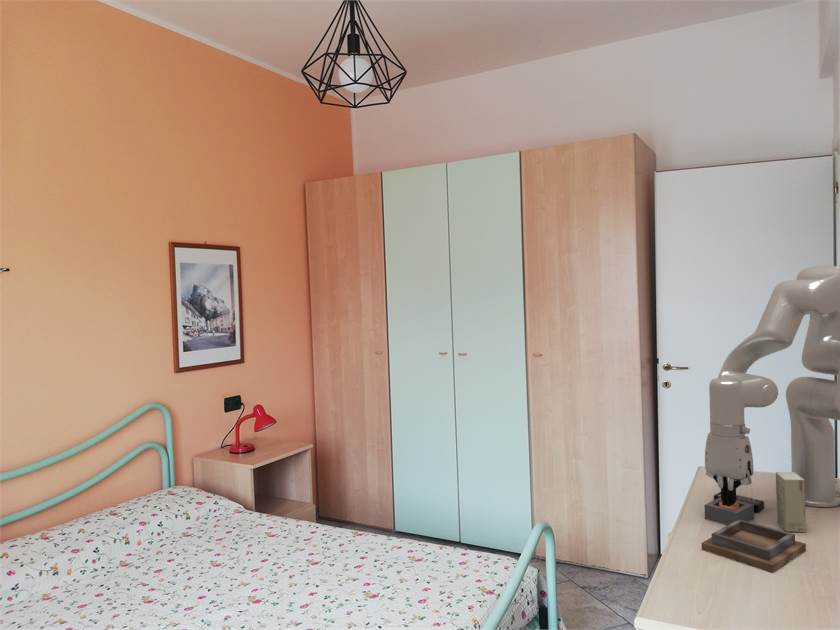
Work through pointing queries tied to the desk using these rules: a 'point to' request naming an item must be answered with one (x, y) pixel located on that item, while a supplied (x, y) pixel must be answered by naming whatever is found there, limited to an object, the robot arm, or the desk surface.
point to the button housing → (728, 512)
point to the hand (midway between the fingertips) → (728, 504)
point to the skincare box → (790, 501)
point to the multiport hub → (757, 503)
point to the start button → (732, 507)
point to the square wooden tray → (754, 545)
